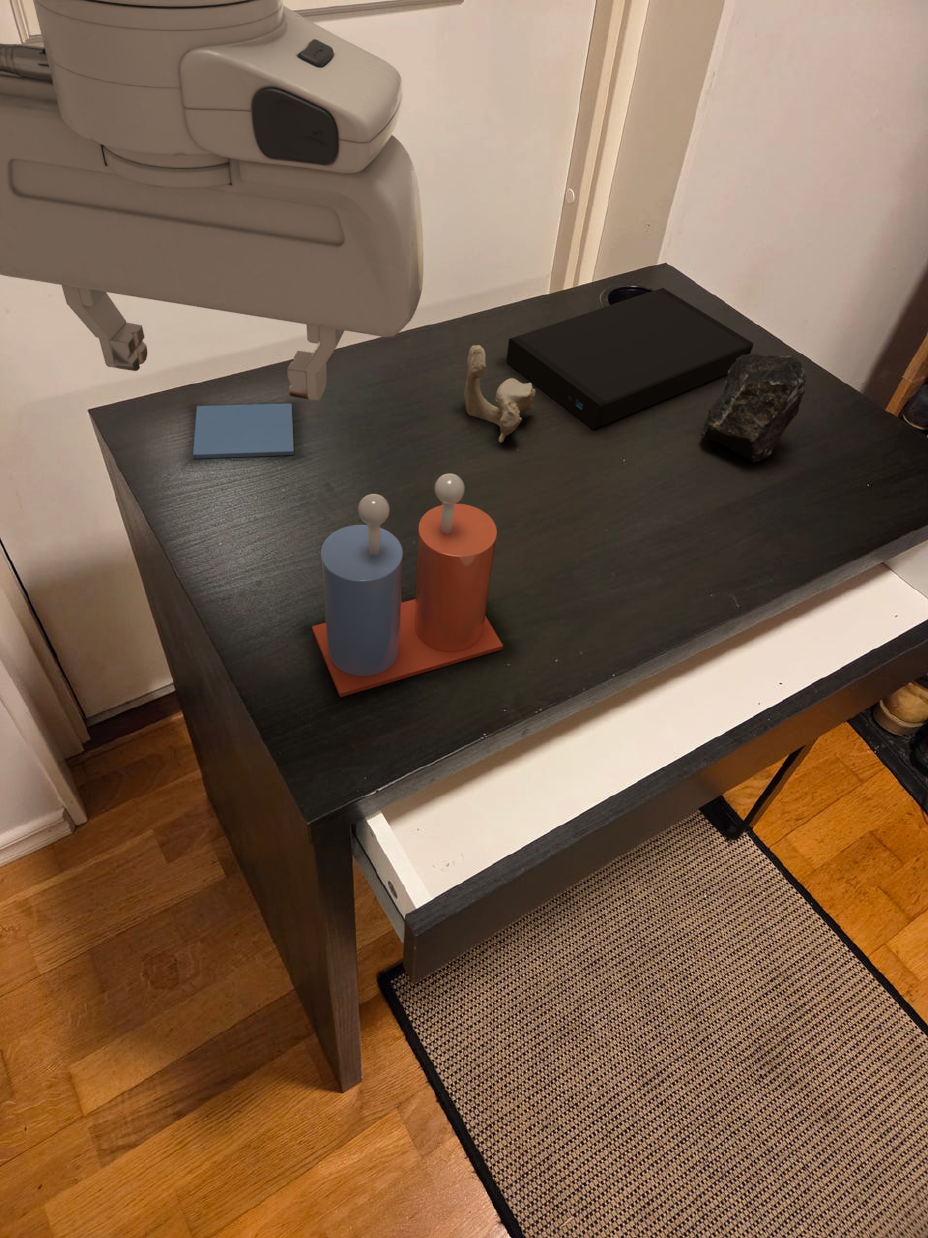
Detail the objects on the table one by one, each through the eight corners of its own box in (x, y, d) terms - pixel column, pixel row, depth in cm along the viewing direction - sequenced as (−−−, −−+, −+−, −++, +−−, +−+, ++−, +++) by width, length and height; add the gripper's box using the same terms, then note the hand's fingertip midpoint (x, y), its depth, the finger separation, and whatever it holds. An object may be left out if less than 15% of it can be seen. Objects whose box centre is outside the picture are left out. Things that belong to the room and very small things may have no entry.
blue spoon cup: (329, 679, 62) (318, 529, 51) (325, 623, 65) (314, 472, 54) (403, 673, 63) (409, 525, 52) (395, 618, 66) (399, 468, 55)
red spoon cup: (418, 654, 64) (426, 505, 53) (410, 601, 67) (416, 451, 56) (489, 649, 65) (511, 501, 54) (477, 597, 68) (496, 448, 57)
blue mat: (193, 458, 78) (192, 454, 77) (197, 410, 83) (196, 405, 82) (294, 455, 79) (293, 450, 79) (291, 407, 84) (291, 403, 84)
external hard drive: (745, 367, 96) (754, 343, 93) (593, 430, 85) (599, 405, 83) (655, 310, 103) (661, 286, 100) (505, 362, 92) (508, 337, 90)
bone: (566, 425, 83) (529, 354, 75) (514, 468, 83) (472, 401, 75) (521, 384, 88) (482, 313, 80) (473, 424, 88) (429, 357, 81)
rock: (786, 445, 86) (824, 356, 79) (759, 480, 82) (797, 390, 75) (714, 415, 89) (745, 326, 81) (685, 447, 85) (715, 357, 77)
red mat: (339, 697, 61) (339, 693, 61) (312, 630, 65) (311, 626, 65) (502, 649, 65) (503, 645, 65) (466, 589, 69) (467, 584, 69)
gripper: (-135, 50, 31) (-12, 378, 42) (409, 132, 31) (399, 447, 41) (-41, 8, 36) (50, 315, 46) (440, 79, 35) (423, 376, 45)
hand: (217, 378), depth 43 cm, fingers open, 8 cm apart
